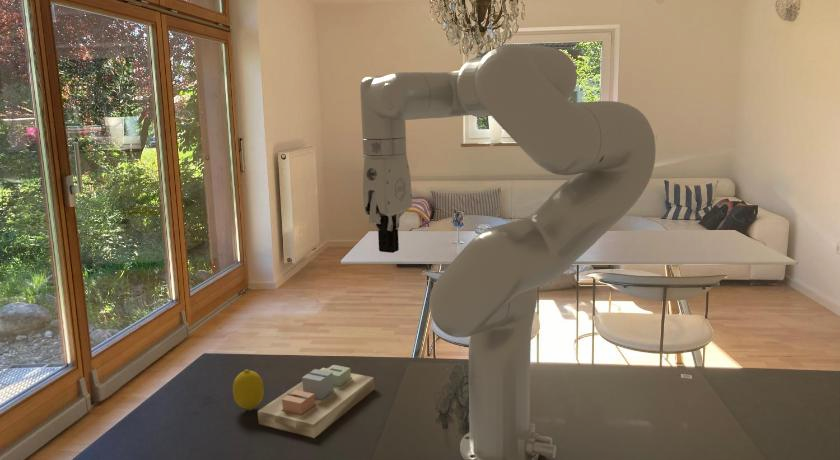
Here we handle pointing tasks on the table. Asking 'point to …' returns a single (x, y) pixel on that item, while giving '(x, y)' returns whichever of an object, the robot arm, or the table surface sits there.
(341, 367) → the key sage
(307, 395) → the key terracotta
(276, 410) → the keypad board
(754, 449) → the table surface
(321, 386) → the key slate
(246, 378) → the lemon
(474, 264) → the robot arm
